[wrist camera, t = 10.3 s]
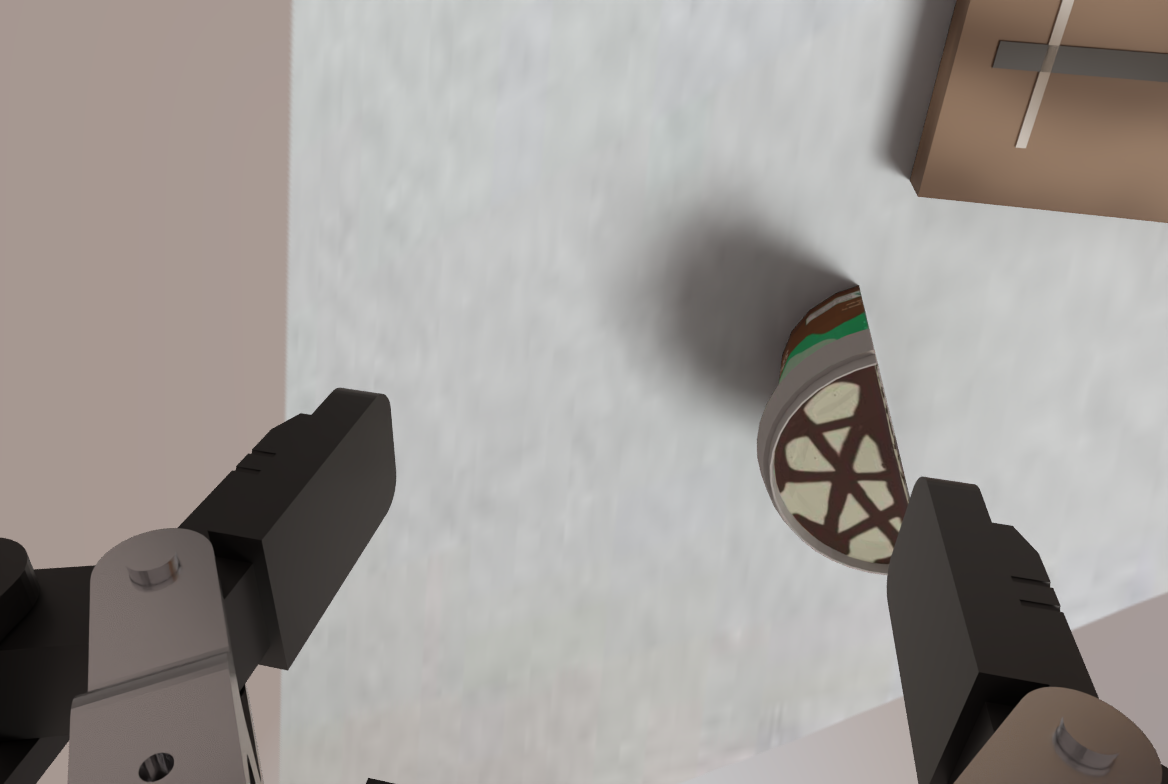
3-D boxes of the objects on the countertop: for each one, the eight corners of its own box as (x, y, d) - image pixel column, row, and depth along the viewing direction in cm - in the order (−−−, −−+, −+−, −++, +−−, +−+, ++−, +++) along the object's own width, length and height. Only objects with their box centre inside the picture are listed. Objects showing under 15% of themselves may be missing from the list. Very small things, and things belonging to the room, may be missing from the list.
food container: (731, 291, 43) (721, 385, 34) (852, 258, 41) (874, 351, 32) (790, 478, 48) (794, 601, 39) (900, 458, 46) (930, 583, 37)
